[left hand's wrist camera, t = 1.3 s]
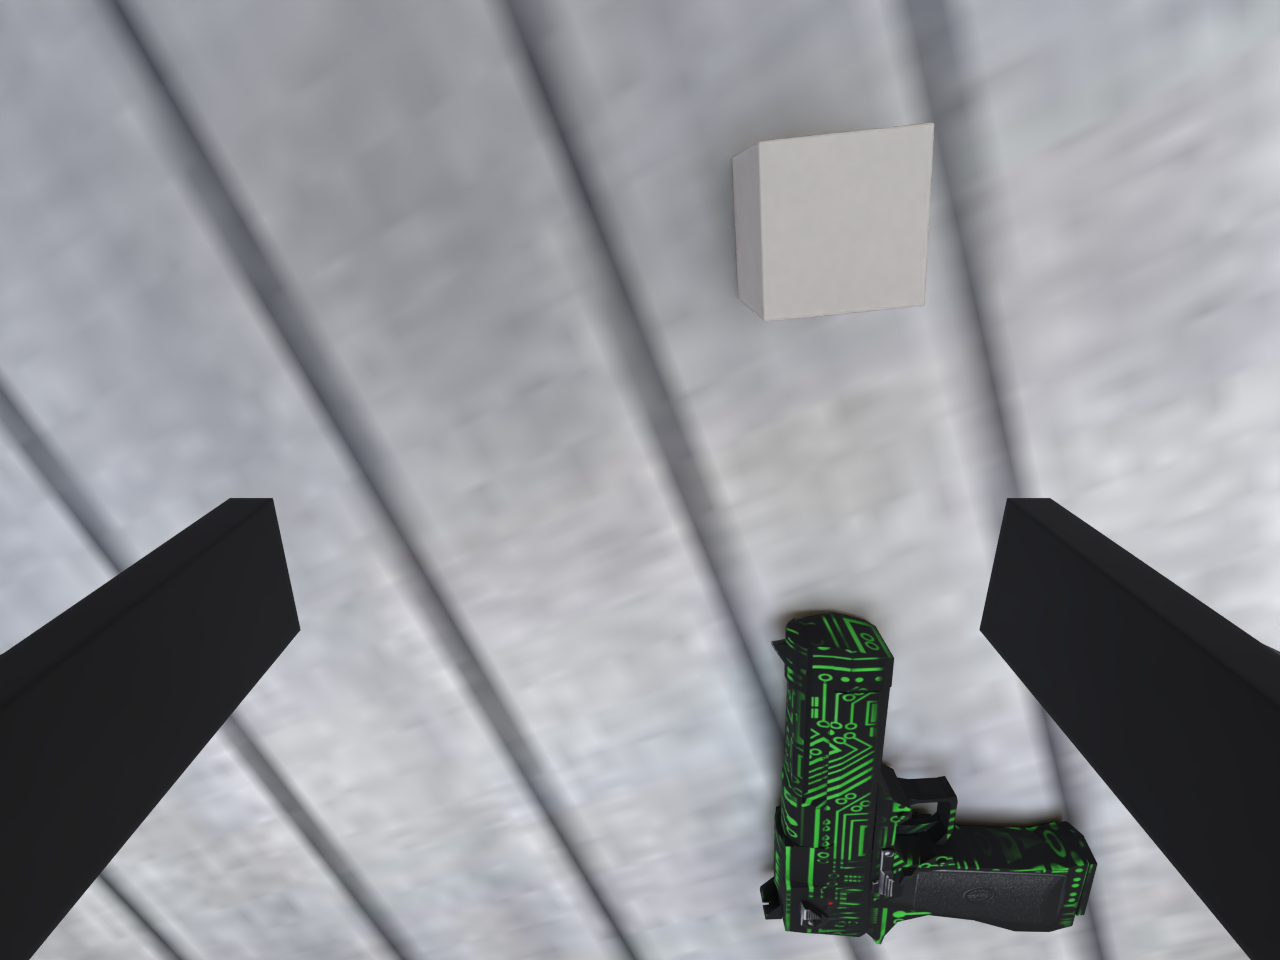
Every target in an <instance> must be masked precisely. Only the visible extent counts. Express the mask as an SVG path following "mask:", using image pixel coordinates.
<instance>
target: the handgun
mask: <svg viewBox="0 0 1280 960" xmlns="http://www.w3.org/2000/svg"><path fill="white" fill-rule="evenodd" d="M771 644H772V647H773V648H774V649H775V651H776V652H777V653H778V655H779V656H780V658H781V659H782V660H783V662H784V663H785V677H786V679H787V702H786V728H785V754H784V764H783V770H782V800H781V806H778V807H776V812H775V825H774V877H773V878H771V879H770V880H769V881H767V882H766V883H764V884H763V885H762V886H760V893H761V897H762V902H763V903H769V905H763V909H764V914H765V919H782V917H783V922H784V926H785V931H792V932H801V933H815V934H829V935H841V936H853V937H860V936H862V935H864V934H866V933H867V934H868V935H870V936H871V937H872V938H873V940H874V941H875V942H876V943H877V944H881V943H882V940H883V938H884V936H885V935H886V934H887V933H888V932H889V930H890V929H891V928H892V927H893V926H894V925H895V924H896V923H897V922H899V921H904V920H908V919H913V918H917V917H922V916H926V915H933V916H941V917H950V918H959V919H968V920H975V921H979V922H982V923H986V924H990V925H994V926H997V927H1001V928H1005V929H1009V930H1012V931H1026V932H1051V931H1054V930H1058V929H1062V928H1066V927H1069V926H1072V925H1073V921H1074V917H1075V914H1076V915H1077V916H1079V915H1084V914H1085V910H1086V906H1087V902H1088V898H1089V894H1090V890H1091V886H1092V883H1093V879H1094V875H1095V871H1096V867H1097V862H1096V860H1095V858H1094V856H1093V854H1092V852H1091V850H1090V848H1089V846H1088V844H1087V842H1086V840H1085V838H1084V836H1083V835H1082V834H1081V833H1080V832H1079V831H1078V830H1076V829H1075V828H1074V827H1073V826H1072V825H1071V824H1069V823H1068V822H1059V821H1057V822H1053V823H1048V824H1044V825H1040V826H1035V827H1031V828H1017V827H985V826H956V825H954V821H955V815H956V808H957V802H958V801H957V796H956V794H955V793H954V791H953V789H952V788H951V786H950V784H949V782H948V781H947V779H946V777H945V776H942V777H937V778H922V779H903V778H897V776H896V774H895V772H894V770H893V769H892V768H890V767H888V766H885V765H883V764H881V762H882V753H883V744H884V736H885V727H886V718H887V709H888V700H889V691H890V687H891V685H892V675H893V664H894V657H893V655H892V654H891V652H890V650H889V649H888V647H887V645H886V643H885V642H884V640H883V638H882V637H881V635H880V633H879V632H878V630H877V628H876V626H874V625H872V624H870V623H869V622H867V621H865V620H863V619H858V618H854V617H850V616H845V615H841V614H837V613H830V614H822V615H815V616H809V617H805V618H802V619H799V620H796V619H795V618H794V619H793V620H791V621H790V622H789V623H788V625H787V627H786V639H783V640H777V641H771ZM929 802H938V805H937V812H936V813H935V814H934V815H933V816H932V815H931V814H918V813H917V814H915V815H913V816H912V808H911V806H910V805H912V804H916V803H929Z"/></svg>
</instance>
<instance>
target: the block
mask: <svg viewBox="0 0 1280 960" xmlns="http://www.w3.org/2000/svg"><path fill="white" fill-rule="evenodd" d="M933 137H934V123H923V124H914V125H905V126H895V127H886V128H877V129H868V130H858V131H849V132H840V133H830V134H821V135H812V136H802V137H793V138H784V139H774V140H765V141H759V142H757V143H756V144H754V145H752V146H751V147H749V148H747V149H746V150H744V151H742V152H741V153H739V154H738V155H736V156H734V157H733V158H732V167H733V190H734V213H735V236H736V259H737V282H738V299H739V300H740V301H741V302H742V303H743V304H745V305H746V306H747V307H748V308H749V309H750V310H752V311H753V312H754V313H755V314H756V315H757V316H759V317H760V318H761V319H762V320H763V321H775V320H785V319H795V318H805V317H816V316H826V315H836V314H846V313H856V312H866V311H877V310H887V309H897V308H907V307H917V306H923V305H924V304H925V287H926V268H927V249H928V230H929V212H930V193H931V174H932V156H933Z"/></svg>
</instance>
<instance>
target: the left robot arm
mask: <svg viewBox="0 0 1280 960" xmlns="http://www.w3.org/2000/svg"><path fill="white" fill-rule="evenodd" d="M299 631H300V625H299V621H298V616H297V611H296V606H295V601H294V597H293V592H292V587H291V582H290V578H289V573H288V568H287V563H286V559H285V554H284V549H283V544H282V540H281V535H280V530H279V525H278V521H277V516H276V511H275V506H274V501H273V498H229V499H228V500H227V501H225V502H224V503H222V504H221V505H219V506H218V507H216V508H215V509H213V510H212V511H211V512H209V513H208V514H206V515H205V516H203V517H202V518H200V519H199V520H197V521H196V522H194V523H193V524H192V525H190V526H189V527H187V528H186V529H184V530H183V531H181V532H180V533H178V534H177V535H175V536H174V537H173V538H171V539H170V540H168V541H167V542H165V543H164V544H162V545H161V546H159V547H158V548H157V549H155V550H154V551H152V552H151V553H149V554H148V555H146V556H145V557H143V558H142V559H140V560H139V561H138V562H136V563H135V564H133V565H132V566H130V567H129V568H127V569H126V570H124V571H123V572H122V573H120V574H119V575H117V576H116V577H114V578H113V579H111V580H110V581H108V582H107V583H105V584H104V585H103V586H101V587H100V588H98V589H97V590H95V591H94V592H92V593H91V594H89V595H88V596H87V597H85V598H84V599H82V600H81V601H79V602H78V603H76V604H75V605H73V606H72V607H70V608H69V609H68V610H66V611H65V612H63V613H62V614H60V615H59V616H57V617H56V618H54V619H53V620H52V621H50V622H49V623H47V624H46V625H44V626H43V627H41V628H40V629H38V630H37V631H35V632H34V633H33V634H31V635H30V636H28V637H27V638H25V639H24V640H22V641H21V642H19V643H18V644H16V645H15V646H14V647H12V648H11V649H9V650H8V651H6V652H5V653H3V654H1V655H0V960H29V959H30V958H31V957H32V956H33V954H34V953H35V952H36V951H37V950H38V948H39V947H40V946H41V945H42V944H43V942H44V941H45V940H46V939H47V937H48V936H49V935H50V934H51V933H52V931H53V930H54V929H55V928H56V927H57V925H58V924H59V923H60V922H61V920H62V919H63V918H64V917H65V916H66V914H67V913H68V912H69V911H70V909H71V908H72V907H73V906H74V905H75V903H76V902H77V901H78V900H79V899H80V897H81V896H82V895H83V894H84V892H85V891H86V890H87V889H88V888H89V886H90V885H91V884H92V883H93V882H94V880H95V879H96V878H97V877H98V875H99V874H100V873H101V872H102V871H103V869H104V868H105V867H106V866H107V865H108V863H109V862H110V861H111V860H112V858H113V857H114V856H115V855H116V854H117V852H118V851H119V850H120V849H121V847H122V846H123V845H124V844H125V843H126V841H127V840H128V839H129V838H130V837H131V835H132V834H133V833H134V832H135V830H136V829H137V828H138V827H139V826H140V824H141V823H142V822H143V821H144V820H145V818H146V817H147V816H148V815H149V813H150V812H151V811H152V810H153V809H154V807H155V806H156V805H157V804H158V802H159V801H160V800H161V799H162V798H163V796H164V795H165V794H166V793H167V792H168V790H169V789H170V788H171V787H172V785H173V784H174V783H175V782H176V781H177V779H178V778H179V777H180V776H181V775H182V773H183V772H184V771H185V770H186V768H187V767H188V766H189V765H190V764H191V762H192V761H193V760H194V759H195V758H196V756H197V755H198V754H199V753H200V751H201V750H202V749H203V748H204V747H205V745H206V744H207V743H208V742H209V740H210V739H211V738H212V737H213V736H214V734H215V733H216V732H217V731H218V730H219V728H220V727H221V726H222V725H223V723H224V722H225V721H226V720H227V719H228V717H229V716H230V715H231V714H232V713H233V711H234V710H235V709H236V708H237V706H238V705H239V704H240V703H241V702H242V700H243V699H244V698H245V697H246V696H247V694H248V693H249V692H250V691H251V689H252V688H253V687H254V686H255V685H256V683H257V682H258V681H259V680H260V678H261V677H262V676H263V675H264V674H265V672H266V671H267V670H268V669H269V668H270V666H271V665H272V664H273V663H274V661H275V660H276V659H277V658H278V657H279V655H280V654H281V653H282V652H283V651H284V649H285V648H286V647H287V646H288V644H289V643H290V642H291V641H292V640H293V638H294V637H295V636H296V635H297V633H298V632H299ZM980 631H981V632H982V633H983V635H984V636H985V637H986V638H987V640H988V641H989V642H990V643H991V644H992V646H993V647H994V648H995V649H996V651H997V652H998V653H999V654H1000V655H1001V657H1002V658H1003V659H1004V660H1005V661H1006V663H1007V664H1008V665H1009V666H1010V668H1011V669H1012V670H1013V671H1014V672H1015V674H1016V675H1017V676H1018V677H1019V678H1020V680H1021V681H1022V682H1023V683H1024V685H1025V686H1026V687H1027V688H1028V689H1029V691H1030V692H1031V693H1032V694H1033V696H1034V697H1035V698H1036V699H1037V700H1038V702H1039V703H1040V704H1041V705H1042V706H1043V708H1044V709H1045V710H1046V711H1047V713H1048V714H1049V715H1050V716H1051V717H1052V719H1053V720H1054V721H1055V722H1056V723H1057V725H1058V726H1059V727H1060V728H1061V730H1062V731H1063V732H1064V733H1065V734H1066V736H1067V737H1068V738H1069V739H1070V740H1071V742H1072V743H1073V744H1074V745H1075V747H1076V748H1077V749H1078V750H1079V751H1080V753H1081V754H1082V755H1083V756H1084V758H1085V759H1086V760H1087V761H1088V762H1089V764H1090V765H1091V766H1092V767H1093V768H1094V770H1095V771H1096V772H1097V773H1098V775H1099V776H1100V777H1101V778H1102V779H1103V781H1104V782H1105V783H1106V784H1107V785H1108V787H1109V788H1110V789H1111V790H1112V792H1113V793H1114V794H1115V795H1116V796H1117V798H1118V799H1119V800H1120V801H1121V802H1122V804H1123V805H1124V806H1125V807H1126V809H1127V810H1128V811H1129V812H1130V813H1131V815H1132V816H1133V817H1134V818H1135V820H1136V821H1137V822H1138V823H1139V824H1140V826H1141V827H1142V828H1143V829H1144V830H1145V832H1146V833H1147V834H1148V835H1149V837H1150V838H1151V839H1152V840H1153V841H1154V843H1155V844H1156V845H1157V846H1158V847H1159V849H1160V850H1161V851H1162V852H1163V854H1164V855H1165V856H1166V857H1167V858H1168V860H1169V861H1170V862H1171V863H1172V865H1173V866H1174V867H1175V868H1176V869H1177V871H1178V872H1179V873H1180V874H1181V875H1182V877H1183V878H1184V879H1185V880H1186V882H1187V883H1188V884H1189V885H1190V886H1191V888H1192V889H1193V890H1194V891H1195V892H1196V894H1197V895H1198V896H1199V897H1200V899H1201V900H1202V901H1203V902H1204V903H1205V905H1206V906H1207V907H1208V908H1209V909H1210V911H1211V912H1212V913H1213V914H1214V916H1215V917H1216V918H1217V919H1218V920H1219V922H1220V923H1221V924H1222V925H1223V927H1224V928H1225V929H1226V930H1227V931H1228V933H1229V934H1230V935H1231V936H1232V937H1233V939H1234V940H1235V941H1236V942H1237V944H1238V945H1239V946H1240V947H1241V948H1242V950H1243V951H1244V952H1245V953H1246V954H1247V956H1248V957H1249V958H1250V959H1251V960H1280V652H1279V651H1277V650H1275V649H1273V648H1271V647H1268V646H1266V645H1264V644H1262V643H1261V642H1259V641H1258V640H1256V639H1255V638H1253V637H1252V636H1250V635H1249V634H1247V633H1246V632H1245V631H1243V630H1242V629H1240V628H1239V627H1237V626H1236V625H1234V624H1233V623H1231V622H1230V621H1228V620H1227V619H1226V618H1224V617H1223V616H1221V615H1220V614H1218V613H1217V612H1215V611H1214V610H1212V609H1211V608H1210V607H1208V606H1207V605H1205V604H1204V603H1202V602H1201V601H1199V600H1198V599H1196V598H1195V597H1193V596H1192V595H1191V594H1189V593H1188V592H1186V591H1185V590H1183V589H1182V588H1180V587H1179V586H1177V585H1176V584H1175V583H1173V582H1172V581H1170V580H1169V579H1167V578H1166V577H1164V576H1163V575H1161V574H1160V573H1158V572H1157V571H1156V570H1154V569H1153V568H1151V567H1150V566H1148V565H1147V564H1145V563H1144V562H1142V561H1141V560H1140V559H1138V558H1137V557H1135V556H1134V555H1132V554H1131V553H1129V552H1128V551H1126V550H1125V549H1123V548H1122V547H1121V546H1119V545H1118V544H1116V543H1115V542H1113V541H1112V540H1110V539H1109V538H1107V537H1106V536H1105V535H1103V534H1102V533H1100V532H1099V531H1097V530H1096V529H1094V528H1093V527H1091V526H1090V525H1088V524H1087V523H1086V522H1084V521H1083V520H1081V519H1080V518H1078V517H1077V516H1075V515H1074V514H1072V513H1071V512H1069V511H1068V510H1067V509H1065V508H1064V507H1062V506H1061V505H1059V504H1058V503H1056V502H1055V501H1053V500H1052V499H1051V498H1007V501H1006V506H1005V511H1004V516H1003V521H1002V525H1001V530H1000V535H999V540H998V544H997V549H996V554H995V559H994V563H993V568H992V573H991V578H990V582H989V587H988V592H987V597H986V601H985V606H984V611H983V616H982V621H981V625H980Z"/></svg>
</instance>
